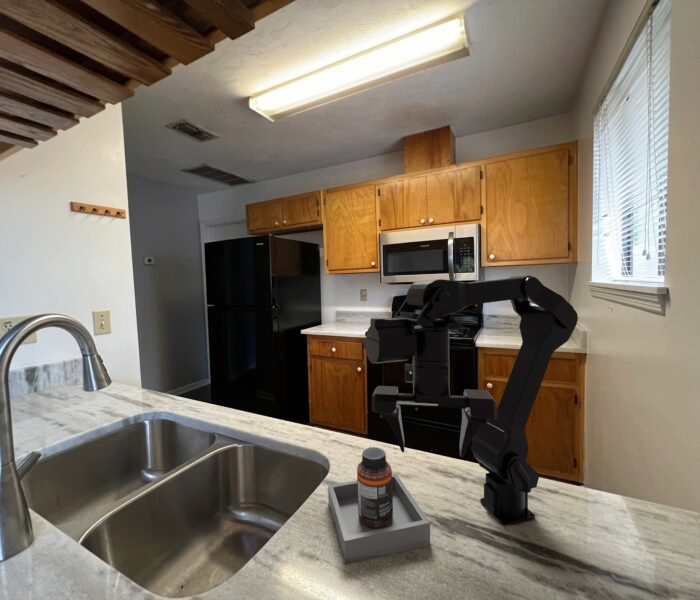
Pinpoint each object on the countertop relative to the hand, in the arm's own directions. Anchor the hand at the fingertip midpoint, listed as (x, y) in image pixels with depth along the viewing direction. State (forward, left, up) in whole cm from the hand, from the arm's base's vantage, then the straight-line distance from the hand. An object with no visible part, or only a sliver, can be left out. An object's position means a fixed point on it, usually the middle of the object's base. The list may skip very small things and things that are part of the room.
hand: (431, 453), depth 52 cm
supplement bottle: (+8, -4, -12) cm, 16 cm away
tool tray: (+8, -4, -13) cm, 16 cm away
